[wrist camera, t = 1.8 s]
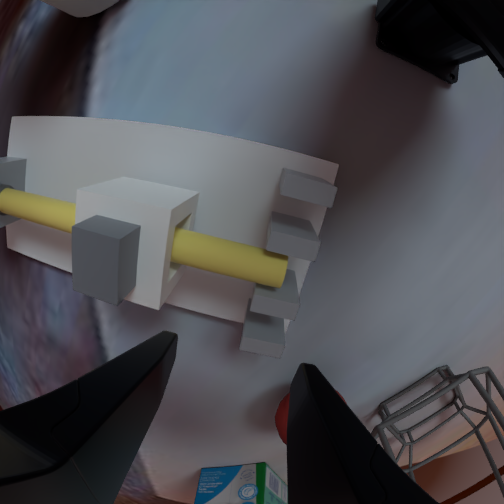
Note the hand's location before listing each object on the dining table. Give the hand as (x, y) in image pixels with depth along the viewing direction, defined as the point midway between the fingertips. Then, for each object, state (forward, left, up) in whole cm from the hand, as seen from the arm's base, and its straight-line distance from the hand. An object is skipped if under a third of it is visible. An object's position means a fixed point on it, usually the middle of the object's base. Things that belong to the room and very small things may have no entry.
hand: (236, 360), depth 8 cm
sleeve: (+6, 0, -10) cm, 12 cm away
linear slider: (+9, 0, -12) cm, 15 cm away
